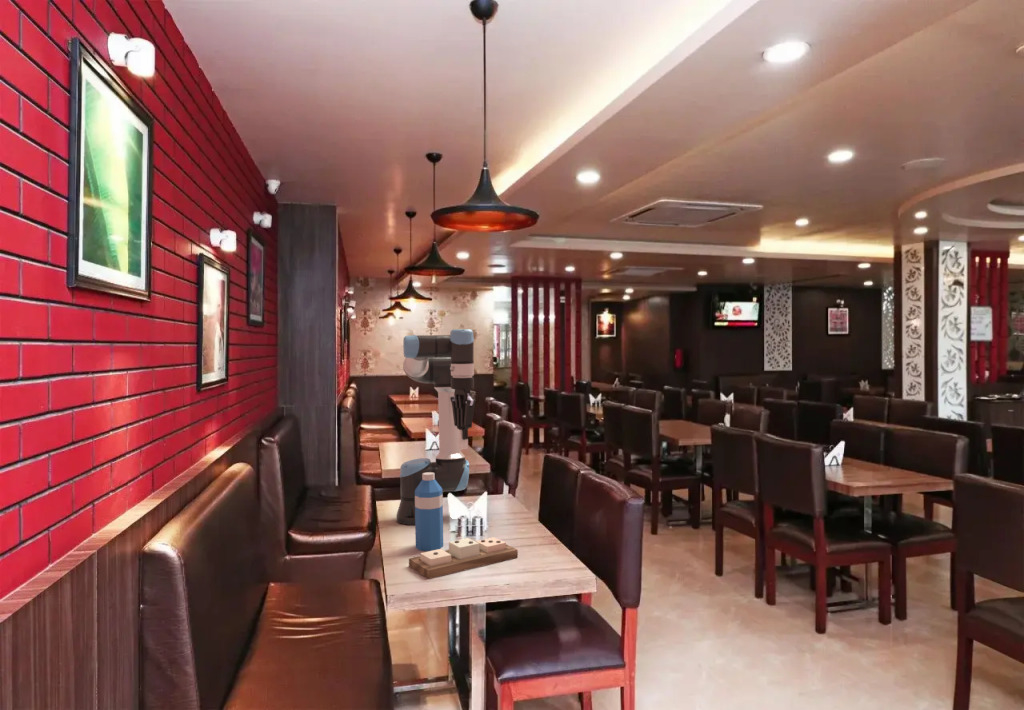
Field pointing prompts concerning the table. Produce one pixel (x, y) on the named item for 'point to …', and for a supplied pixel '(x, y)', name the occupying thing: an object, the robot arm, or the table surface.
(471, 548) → the tile two
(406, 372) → the robot arm
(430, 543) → the water bottle
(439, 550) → the tile one
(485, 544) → the tile three
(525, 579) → the table surface
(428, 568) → the wooden dice tray
